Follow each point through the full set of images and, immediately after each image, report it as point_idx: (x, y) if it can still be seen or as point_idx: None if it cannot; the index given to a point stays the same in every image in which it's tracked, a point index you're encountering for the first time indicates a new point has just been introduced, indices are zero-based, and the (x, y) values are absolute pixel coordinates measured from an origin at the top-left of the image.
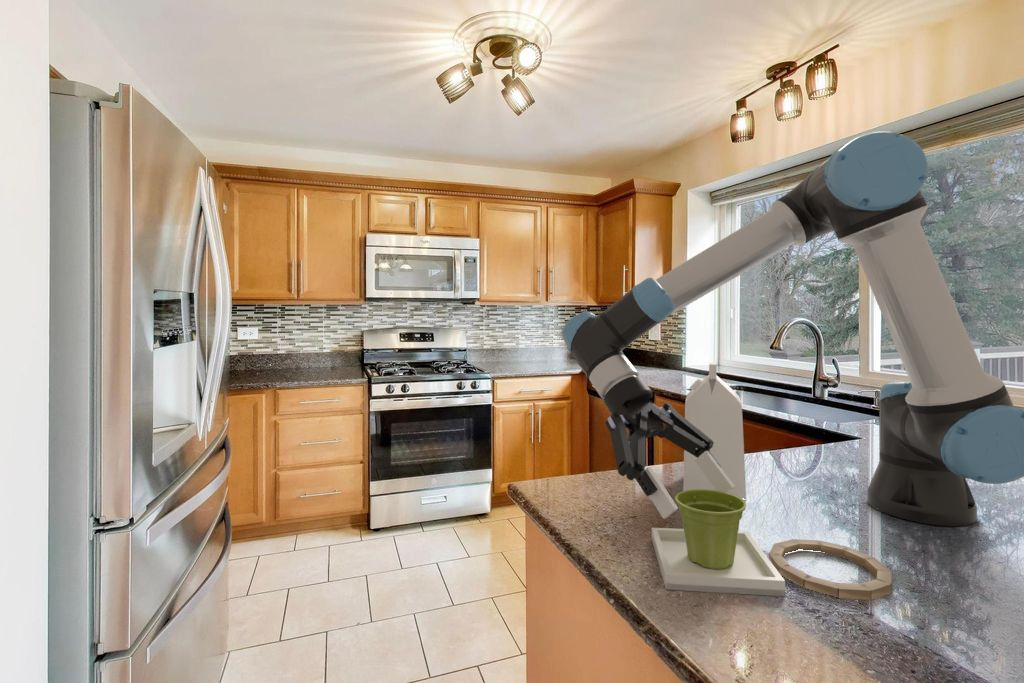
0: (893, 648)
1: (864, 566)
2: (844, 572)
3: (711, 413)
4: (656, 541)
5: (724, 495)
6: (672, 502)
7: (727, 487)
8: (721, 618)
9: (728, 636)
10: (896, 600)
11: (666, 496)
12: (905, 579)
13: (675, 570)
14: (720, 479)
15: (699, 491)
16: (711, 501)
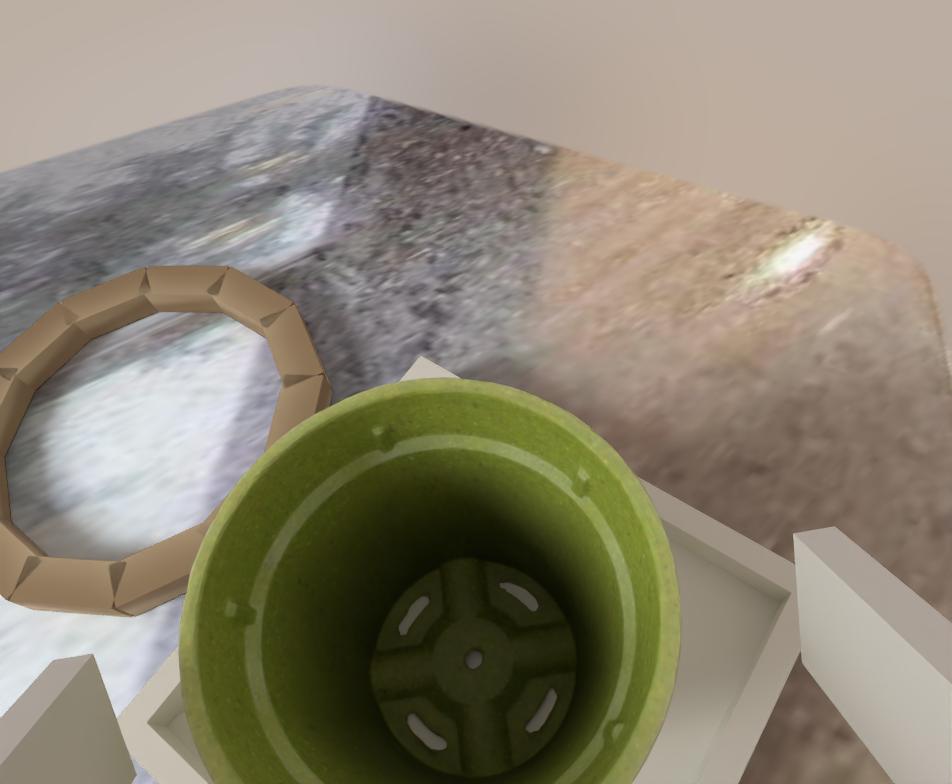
0: (420, 171)
1: (32, 392)
2: (119, 400)
3: None
4: None
5: (205, 658)
6: (842, 554)
7: (93, 701)
8: (721, 384)
9: (763, 321)
10: (189, 263)
11: (898, 584)
12: (39, 309)
13: (703, 665)
14: (50, 771)
15: None
16: (270, 748)
